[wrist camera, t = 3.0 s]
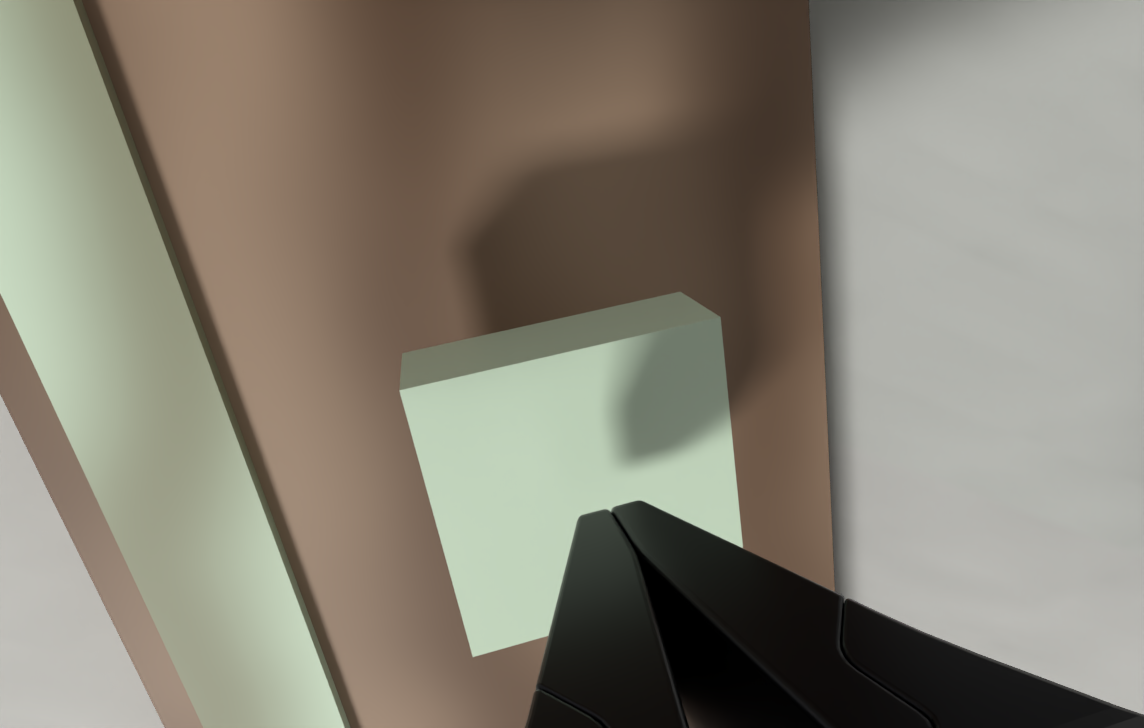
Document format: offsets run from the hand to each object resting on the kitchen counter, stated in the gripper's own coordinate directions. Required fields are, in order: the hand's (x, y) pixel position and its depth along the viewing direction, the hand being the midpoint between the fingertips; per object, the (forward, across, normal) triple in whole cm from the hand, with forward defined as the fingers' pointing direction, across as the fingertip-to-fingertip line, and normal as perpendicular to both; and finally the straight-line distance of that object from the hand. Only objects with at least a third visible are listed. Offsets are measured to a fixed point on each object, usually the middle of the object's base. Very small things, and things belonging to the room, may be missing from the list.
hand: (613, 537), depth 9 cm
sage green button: (+3, 0, 0) cm, 3 cm away
